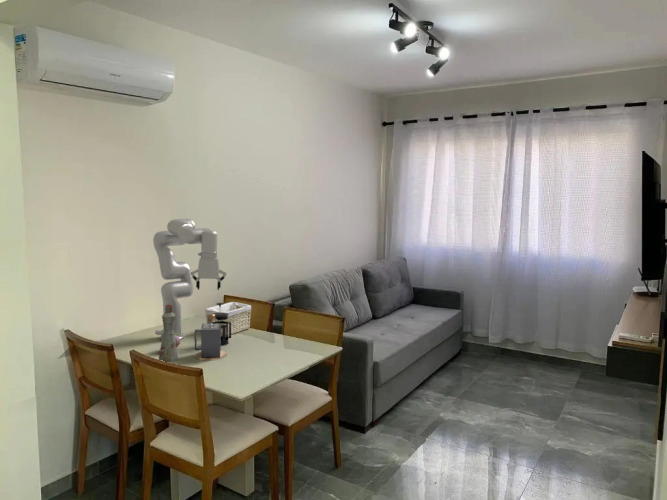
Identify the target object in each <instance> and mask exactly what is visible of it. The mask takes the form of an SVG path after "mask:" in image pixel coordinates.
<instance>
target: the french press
mask: <svg viewBox="0 0 667 500" xmlns="http://www.w3.org/2000/svg"><path fill="white" fill-rule="evenodd" d="M223 304H225V303H224V302H217V303H216V305H215V306H219V307H221V305H223ZM213 314H215V318H216V319H217V320H226V319H228V315H229V314H228V313H223V312H219V313H213ZM213 323H221V324H226V325H221V328H223V331H221V347H222V346H224V347H225V346H227V345H228V344H229V339H231V338H232V334H231V322H225V321H216V322H213ZM213 323H212V324H213ZM228 326H229V336H228Z"/></svg>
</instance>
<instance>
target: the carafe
mask: <svg viewBox="0 0 667 500" xmlns="http://www.w3.org/2000/svg"><path fill="white" fill-rule="evenodd" d="M197 333H200V346H201V347H200V346H199V347H197V344H198V343H197V341H198V340H197V339H198V337H197ZM221 347H222V346H221V323H213V324H212V327H210V324H207V323H202V325H201V327H200V329H194V351H200V352H201V358H220V353H221V351H222V348H221Z"/></svg>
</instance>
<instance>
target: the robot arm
mask: <svg viewBox="0 0 667 500" xmlns="http://www.w3.org/2000/svg"><path fill="white" fill-rule="evenodd" d="M166 228H167V230H161V231H157V232H156V233H154V235H153V239H152V241H153V246H154V249H155V252H156V254H157V257H158V263H159V270H160V275H161V277H162V279H163V280H167V281H168V280H169V282H166V283H163V285H161V288H160V294H161V297H162V309H163V310H162V313H163V314H164V313H165V306H166V305H168V304H169V305H172V312H173V313H174V314H175V321H174V328H173V330H174V333H178V334H179V335H178V336H179V337H180V340H182V339H184V338H185V334H184V333H183V332H182V305H181V303H180V302H179V300H178V299H183V298H188V297H189V298H190V297H191V296H192V295H193V294H194V283H193V281H195V287H196V288H197V290H199V291H200V286H201V285H200V283H201V281H200V279H204V280H206V279H208V280H214V279H216V280H217V288H216V289H217V290H218V291H219V290H220V289H221V284H222V283H221V282H222V281H223V280H224V279H225V278H226V276H227V272H225V271H223V270H222V269H220V261H219V258H218V256H217V255H218V233H217V231H216V230H211V229H209V228H206V227H205V228H196V224H195V222H194V221H193V220H192V219H191V218H175V219H172V220H170V221H169V222H168V223H167V225H166ZM185 244H186V245H187V244H188V245H196V244H197V245H198V244H201V246H200V249H201V250H200V251H201V252H198V253H197V255H198V256H199V259H198V268H197V269H195V270H193V271H192V270H191V269H190V265H189V264H188V262H186V261H176V258H175V253H174V252H173V251H172V250H171V248H169V247H172V246H183V245H185ZM195 274H197V276H196V275H195ZM220 274H222V275H221V277H220ZM171 280H177V281H171ZM163 314H162V315H163ZM163 332H164V326H163V329H161V330H155V335H157V336H160V339H161V340H162V337H163Z"/></svg>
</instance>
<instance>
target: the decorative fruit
mask: <svg viewBox="0 0 667 500" xmlns="http://www.w3.org/2000/svg"><path fill="white" fill-rule="evenodd" d="M178 335H179V334H178V333H174V336H175V341H176V348H177V349H178V347H179V346H180V343H181V339H180V337H179V336H178Z"/></svg>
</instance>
